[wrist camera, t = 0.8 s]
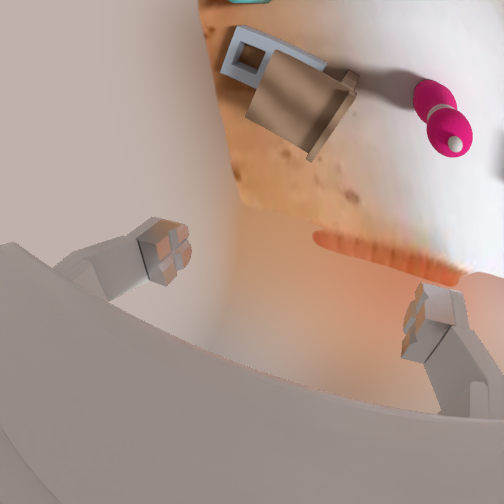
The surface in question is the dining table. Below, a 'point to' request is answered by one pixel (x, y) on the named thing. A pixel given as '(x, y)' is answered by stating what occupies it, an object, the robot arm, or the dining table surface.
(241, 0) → the peg
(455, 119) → the pepper mill
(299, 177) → the dining table surface
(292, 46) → the socket
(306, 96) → the toy chair
